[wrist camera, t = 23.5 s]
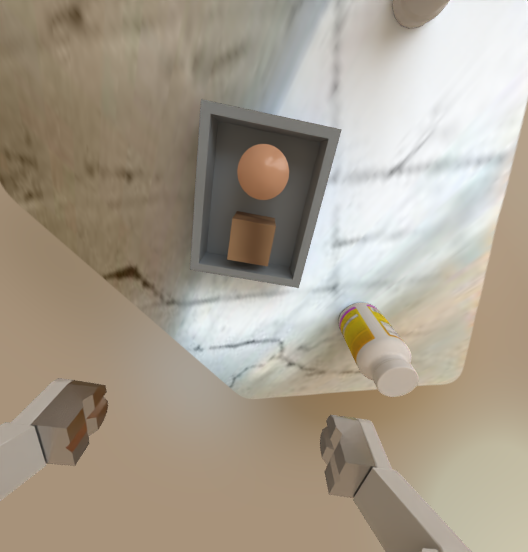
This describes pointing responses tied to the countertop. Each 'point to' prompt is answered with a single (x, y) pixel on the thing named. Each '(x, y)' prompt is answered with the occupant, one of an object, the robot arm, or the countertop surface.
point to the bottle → (417, 11)
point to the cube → (251, 238)
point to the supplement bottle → (378, 349)
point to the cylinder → (263, 171)
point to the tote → (231, 198)
